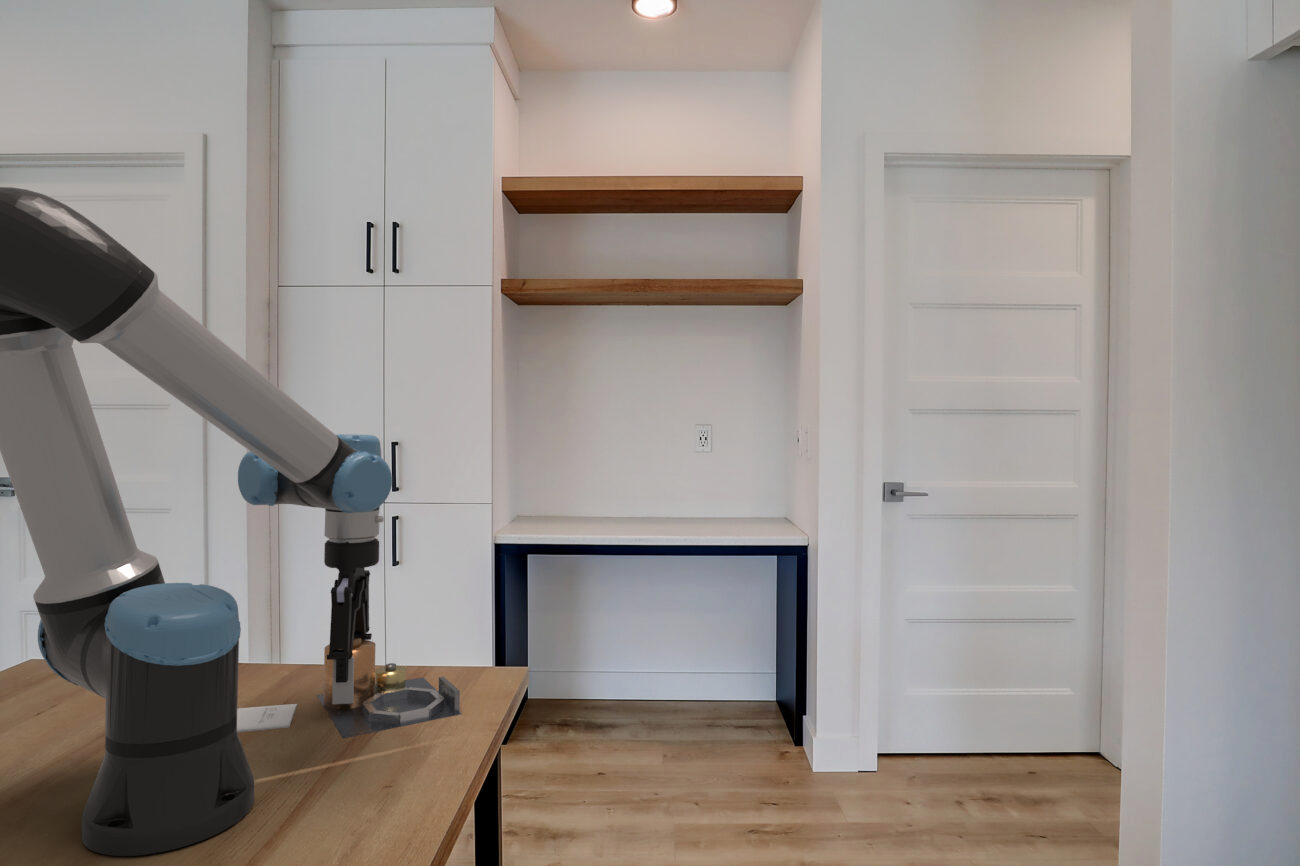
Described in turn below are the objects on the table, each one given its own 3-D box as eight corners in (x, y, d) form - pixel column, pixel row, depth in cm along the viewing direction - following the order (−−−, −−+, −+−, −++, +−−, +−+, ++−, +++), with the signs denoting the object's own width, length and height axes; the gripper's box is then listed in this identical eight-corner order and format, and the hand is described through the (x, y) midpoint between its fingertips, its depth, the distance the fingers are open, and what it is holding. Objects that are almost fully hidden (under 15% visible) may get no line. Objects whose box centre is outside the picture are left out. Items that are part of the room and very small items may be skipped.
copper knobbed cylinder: (379, 703, 109) (380, 642, 109) (328, 712, 105) (330, 649, 105) (367, 688, 115) (369, 630, 115) (319, 697, 111) (320, 637, 111)
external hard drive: (199, 722, 104) (297, 712, 108) (183, 746, 96) (289, 735, 100) (200, 710, 104) (297, 701, 108) (183, 733, 96) (289, 723, 100)
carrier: (462, 717, 106) (462, 687, 106) (343, 741, 97) (343, 709, 97) (422, 680, 121) (423, 653, 121) (316, 698, 112) (317, 670, 112)
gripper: (364, 549, 101) (360, 718, 101) (391, 529, 120) (388, 670, 120) (305, 549, 99) (302, 720, 100) (342, 529, 119) (339, 672, 119)
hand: (349, 693), depth 110 cm, fingers closed on copper knobbed cylinder, 7 cm apart
